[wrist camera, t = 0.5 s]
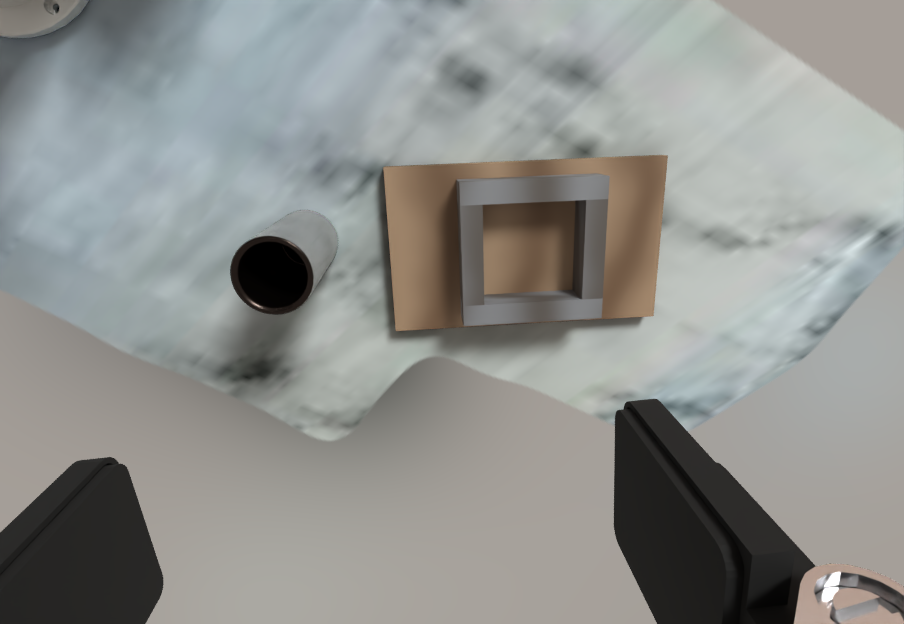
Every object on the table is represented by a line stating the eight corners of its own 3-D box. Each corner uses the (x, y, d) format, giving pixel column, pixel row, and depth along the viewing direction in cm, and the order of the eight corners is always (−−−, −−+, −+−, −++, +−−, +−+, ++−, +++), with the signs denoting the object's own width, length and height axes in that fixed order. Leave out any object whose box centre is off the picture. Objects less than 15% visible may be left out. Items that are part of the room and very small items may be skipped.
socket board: (396, 325, 42) (394, 343, 38) (384, 166, 38) (381, 169, 34) (646, 311, 43) (667, 327, 39) (660, 155, 39) (684, 157, 35)
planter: (313, 282, 40) (281, 330, 30) (263, 243, 39) (212, 280, 29) (351, 237, 39) (330, 272, 29) (300, 196, 38) (261, 218, 28)
